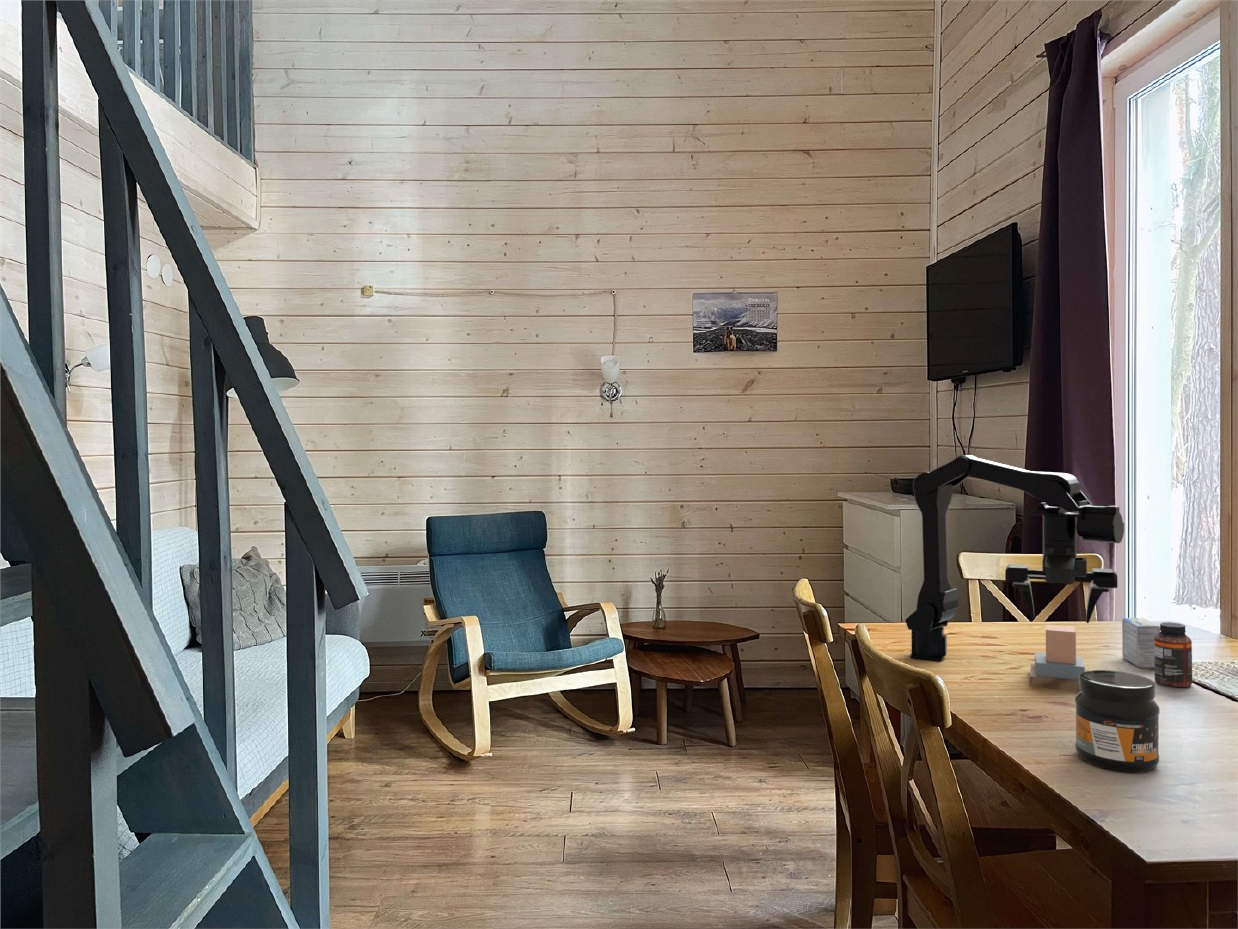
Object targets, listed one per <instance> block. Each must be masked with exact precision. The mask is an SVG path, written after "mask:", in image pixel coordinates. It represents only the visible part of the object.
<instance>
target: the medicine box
mask: <svg viewBox="0 0 1238 929" xmlns="http://www.w3.org/2000/svg"><path fill="white" fill-rule="evenodd" d="M1121 626H1122V627H1121V629H1122V630H1121V632H1122V635H1121V637H1122V640H1121V641H1122V646H1121V647H1122V650H1121V651H1122V659H1124V660H1126V662H1127V661H1128V662H1129V663H1131V664H1133V665H1134V666H1136V667H1137V668H1140V669H1155V658H1154V638H1155V636H1156V635H1157V634H1159V633H1160V632H1161V630H1160V625H1159V624H1157V623H1154V622H1152V621H1150V620H1148V619H1146V618H1143V617H1124V618H1122V620H1121Z"/></svg>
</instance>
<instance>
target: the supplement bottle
mask: <svg viewBox="0 0 1238 929" xmlns="http://www.w3.org/2000/svg"><path fill="white" fill-rule="evenodd" d="M1159 626H1160V633H1159V634H1157V635H1156V636H1155V638H1154V658H1155V668H1154V681H1155V682H1156V683H1157V684H1160V685H1162V686H1165V687H1166V686H1167V687H1172V688H1188V687H1191V686H1192V684H1193V645H1192V644H1193V641H1192V639H1191V638H1190V636H1188V635H1187V634H1186V625H1185V624H1183V623H1180V622H1169V621H1168V622H1167V621H1166V622H1161V623H1159Z"/></svg>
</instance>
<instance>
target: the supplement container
mask: <svg viewBox="0 0 1238 929" xmlns="http://www.w3.org/2000/svg"><path fill="white" fill-rule="evenodd" d="M1079 689H1080V690H1081V691H1078V693H1077V694H1076V695H1075V696H1074V703H1075V751H1076V753H1077V755H1078V756H1079V757H1080V758H1081V759H1083V760H1084V761H1086V762H1087V763H1089V764H1091V765H1093V766H1096V767H1099V768H1102V769H1105V770H1110V771H1114V772H1115V771H1116V772H1123V773H1124V772H1125V773H1143V772H1149V771H1151V770H1153V769H1155V768H1156V767H1157V766H1158V765H1159V762H1160V754H1159V742H1160V741H1159V730H1160V728H1159V727H1160V726H1159V722H1160V720H1159V718H1160V713H1161V711H1160V710H1161V708H1160V705H1159V704H1158V703H1157V702H1156V701H1155V700H1154V699H1156V684H1155V682H1154V681H1153V680H1152V679H1150V678H1148V677H1145V676H1143V675H1139V674H1136V673H1130V672H1124V671H1118V670H1103V669H1101V670H1097V669H1096V670H1094V669H1093V670H1089V671H1086V672H1083V673H1081V674H1080V675H1079Z"/></svg>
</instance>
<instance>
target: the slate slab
mask: <svg viewBox="0 0 1238 929" xmlns="http://www.w3.org/2000/svg"><path fill="white" fill-rule="evenodd" d="M1034 664H1035V670H1036V676H1042V677H1053V678H1064V679H1074V680H1079V675H1080V674H1081V673H1083V672H1085V669H1086V667H1085V664H1084V661H1083V658H1082V657H1081V656H1077V655H1076V664H1069V663H1059V662H1048V661H1046V653H1043V652H1041V653H1040V652H1039V653H1038V652H1034Z"/></svg>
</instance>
